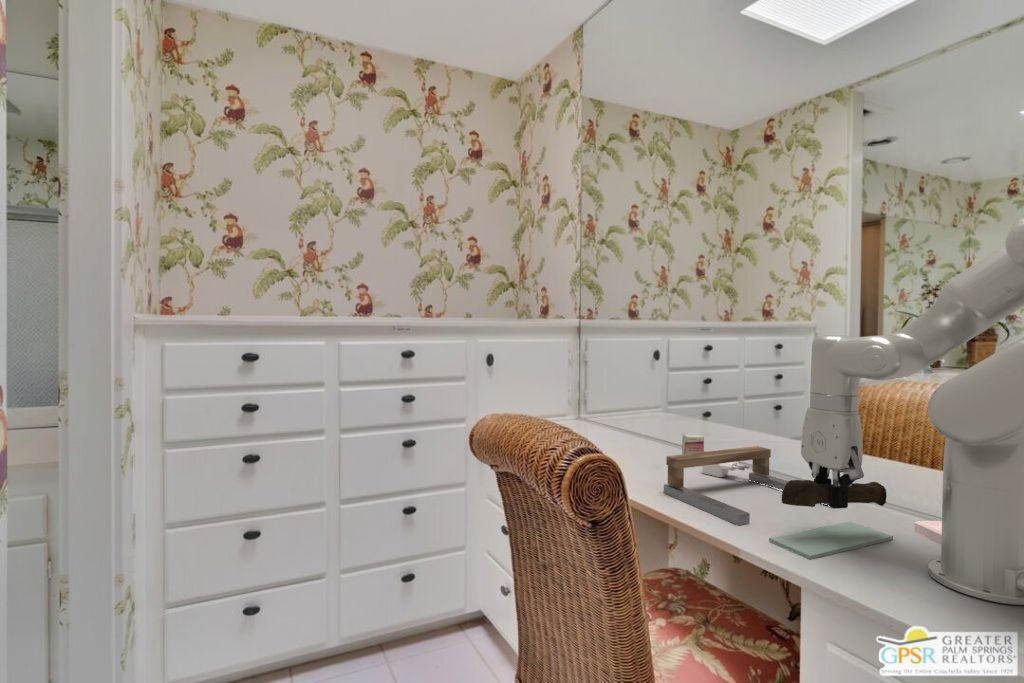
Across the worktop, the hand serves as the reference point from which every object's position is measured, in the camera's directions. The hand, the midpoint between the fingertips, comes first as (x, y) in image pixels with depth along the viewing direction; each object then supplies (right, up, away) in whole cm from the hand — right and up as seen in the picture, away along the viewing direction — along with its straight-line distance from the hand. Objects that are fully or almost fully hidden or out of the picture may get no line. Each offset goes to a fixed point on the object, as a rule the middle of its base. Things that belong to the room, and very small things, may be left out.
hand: (830, 502), depth 95 cm
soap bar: (+22, -8, 0) cm, 23 cm away
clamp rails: (-4, -6, +23) cm, 24 cm away
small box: (-6, -6, +56) cm, 57 cm away
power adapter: (-2, -6, +41) cm, 42 cm away
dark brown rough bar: (0, -1, 0) cm, 1 cm away
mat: (0, -7, 0) cm, 7 cm away
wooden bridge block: (-8, -4, +31) cm, 32 cm away
